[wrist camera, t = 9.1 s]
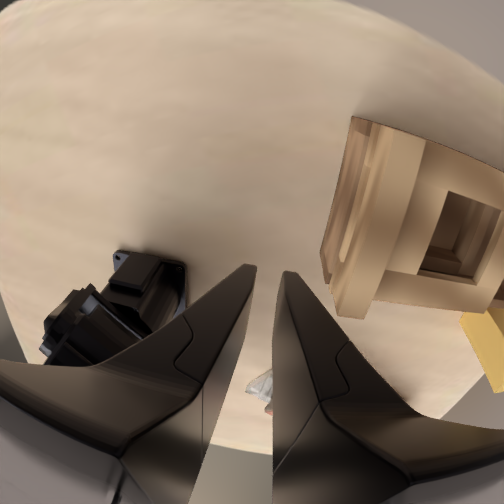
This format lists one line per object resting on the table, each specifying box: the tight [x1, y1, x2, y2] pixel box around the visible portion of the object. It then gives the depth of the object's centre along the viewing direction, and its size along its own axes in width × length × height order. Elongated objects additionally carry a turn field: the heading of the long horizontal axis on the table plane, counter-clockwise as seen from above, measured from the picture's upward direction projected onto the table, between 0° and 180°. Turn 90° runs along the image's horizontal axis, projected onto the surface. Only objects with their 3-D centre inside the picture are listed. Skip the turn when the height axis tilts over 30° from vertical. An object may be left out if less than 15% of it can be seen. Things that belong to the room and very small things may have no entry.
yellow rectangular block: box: [459, 307, 504, 393], centre depth 19 cm, size 4×4×9 cm
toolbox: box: [320, 116, 504, 309], centre depth 18 cm, size 10×18×4 cm, turn 82°
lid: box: [329, 123, 504, 319], centre depth 14 cm, size 10×13×3 cm
